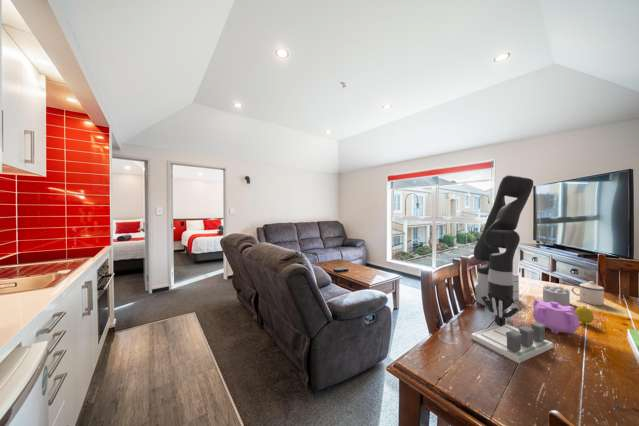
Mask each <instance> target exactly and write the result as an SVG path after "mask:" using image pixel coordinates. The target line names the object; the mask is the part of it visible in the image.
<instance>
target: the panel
mask: <svg viewBox="0 0 639 426" xmlns="http://www.w3.org/2000/svg"><path fill="white" fill-rule="evenodd" d="M512 330H513V331H515V332H518V333H520V330H519V327H518V328H517V327H516V326H513V325H510V324H507V323H505V325H504V326H502V327H500V326H498V325H494V326H491V327H488V328H485V329H482V330H479V331H475V332H473V333H471V337H470V338H472V339H471V340H473V341H475V342H477V343H479V344H481V345H483V346H484V345H485V346H484V347H486V348H488V349H491V350H492V351H493V352H496V353H497V354H500V355H502V356H503V355H504V357H506V358H507V359H509V360H511V361H513V362H515V363H517V364H521V363H522V362H525V361H527V360H530V359H531V358H533V357H536V356H538V355H541V354H542V353H546V352H547V351H549V350H552V349H553V348H554V343H553V341H549V340H547V339H545V340H543V341H541V342H538V341H536V340H534V339H533V345H531V346H529V347H526V346H524V345H522V344H521V350H520V351H517V352H515V353H514V352H512V351H510V350H508V349H507V335H506V332H509V331H512Z"/></svg>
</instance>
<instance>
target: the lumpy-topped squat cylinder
mask: <svg viewBox="0 0 639 426" xmlns="http://www.w3.org/2000/svg"><path fill="white" fill-rule="evenodd" d="M570 294H571V293H570V290H569V289H567V288H564V287H563V286H558V285H552V284H548V285H544V286H543V287H542V302H557V303H559V305H562V306H571V305H570V304H571V303H570V302H571V299H570V297H571V296H570Z"/></svg>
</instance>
